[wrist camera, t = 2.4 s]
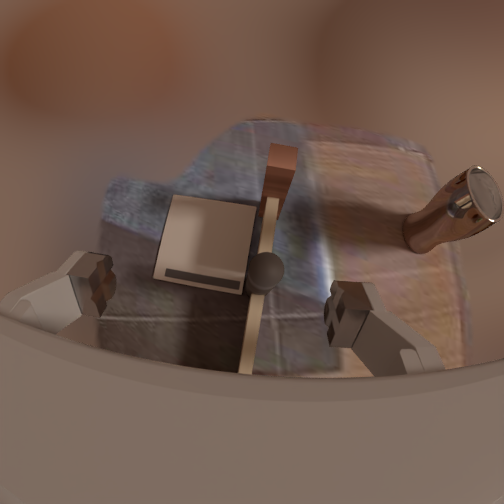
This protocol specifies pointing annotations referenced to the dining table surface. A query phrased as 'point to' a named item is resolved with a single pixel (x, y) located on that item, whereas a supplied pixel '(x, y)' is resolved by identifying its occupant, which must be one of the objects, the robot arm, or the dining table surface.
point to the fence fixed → (257, 302)
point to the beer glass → (455, 211)
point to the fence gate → (275, 190)
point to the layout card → (206, 244)
